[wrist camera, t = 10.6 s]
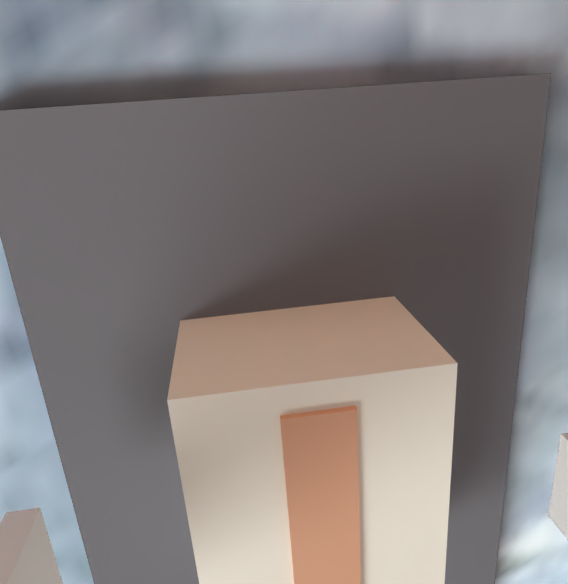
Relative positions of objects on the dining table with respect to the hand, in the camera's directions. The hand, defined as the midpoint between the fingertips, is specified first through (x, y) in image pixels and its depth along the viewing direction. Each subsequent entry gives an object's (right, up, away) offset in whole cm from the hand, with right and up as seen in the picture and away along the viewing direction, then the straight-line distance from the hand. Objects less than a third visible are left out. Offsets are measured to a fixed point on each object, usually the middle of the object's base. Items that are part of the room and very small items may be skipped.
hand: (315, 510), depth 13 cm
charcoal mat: (0, +1, +4) cm, 4 cm away
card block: (0, +1, +3) cm, 3 cm away
